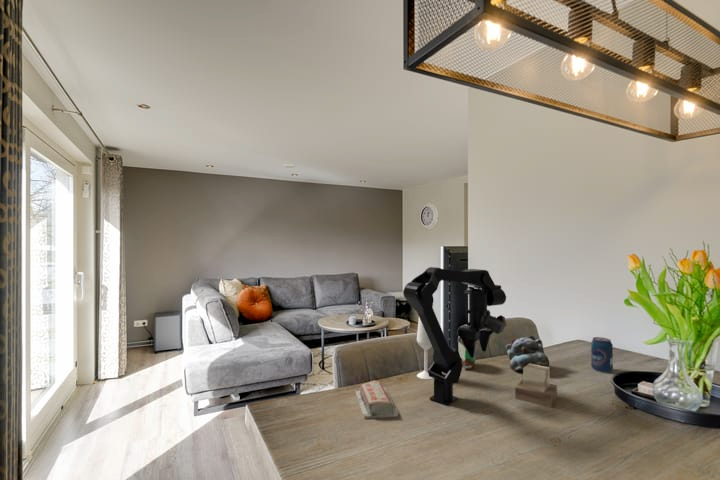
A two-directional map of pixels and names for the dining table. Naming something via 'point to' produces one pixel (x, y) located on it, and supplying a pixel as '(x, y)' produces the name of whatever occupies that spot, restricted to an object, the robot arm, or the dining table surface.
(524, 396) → the walnut block
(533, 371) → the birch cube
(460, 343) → the food container
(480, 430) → the dining table surface
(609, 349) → the soda can
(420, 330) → the champagne flute
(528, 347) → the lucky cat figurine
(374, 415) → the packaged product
